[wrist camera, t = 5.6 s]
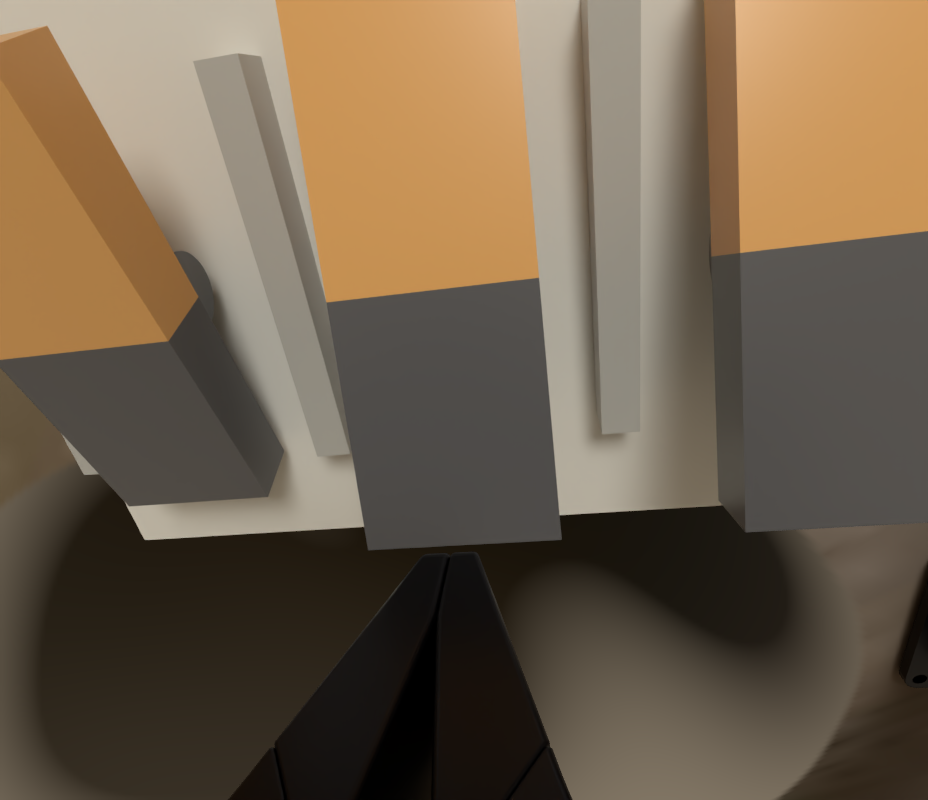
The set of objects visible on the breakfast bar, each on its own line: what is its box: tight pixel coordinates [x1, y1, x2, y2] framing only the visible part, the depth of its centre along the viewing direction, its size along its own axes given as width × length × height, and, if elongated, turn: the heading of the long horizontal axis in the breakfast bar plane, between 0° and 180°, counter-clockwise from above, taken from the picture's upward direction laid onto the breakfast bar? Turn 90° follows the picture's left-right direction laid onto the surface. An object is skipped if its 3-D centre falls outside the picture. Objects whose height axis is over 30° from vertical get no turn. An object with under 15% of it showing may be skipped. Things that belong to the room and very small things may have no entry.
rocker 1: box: [0, 26, 284, 507], centre depth 11 cm, size 9×4×2 cm, turn 8°
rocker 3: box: [704, 0, 928, 532], centre depth 9 cm, size 9×4×2 cm, turn 8°
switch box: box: [0, 0, 722, 540], centre depth 13 cm, size 14×20×5 cm
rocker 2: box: [275, 0, 562, 550], centre depth 10 cm, size 9×4×2 cm, turn 8°
